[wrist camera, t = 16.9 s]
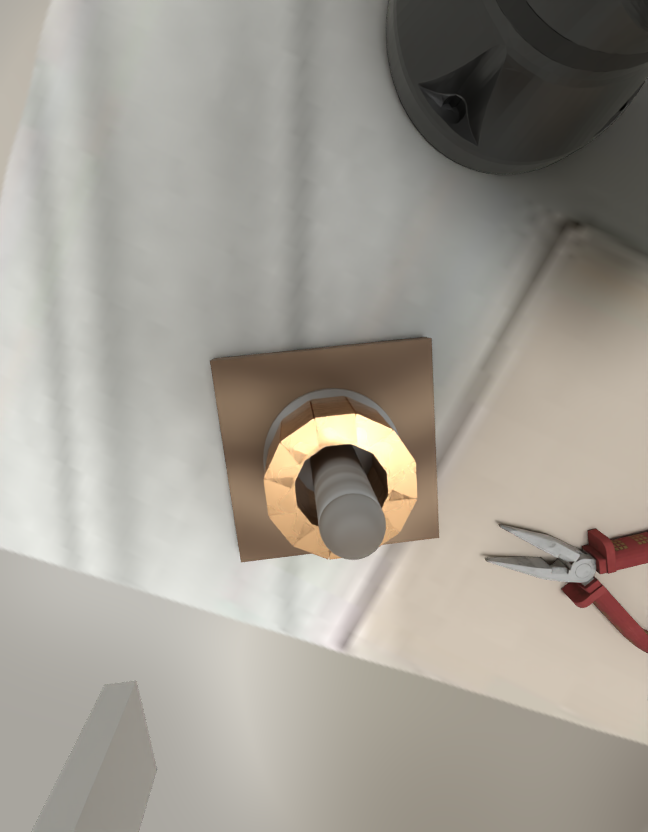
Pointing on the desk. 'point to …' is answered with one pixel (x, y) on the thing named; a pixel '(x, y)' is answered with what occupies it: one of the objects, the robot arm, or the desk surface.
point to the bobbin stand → (333, 465)
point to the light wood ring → (331, 427)
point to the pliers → (586, 571)
